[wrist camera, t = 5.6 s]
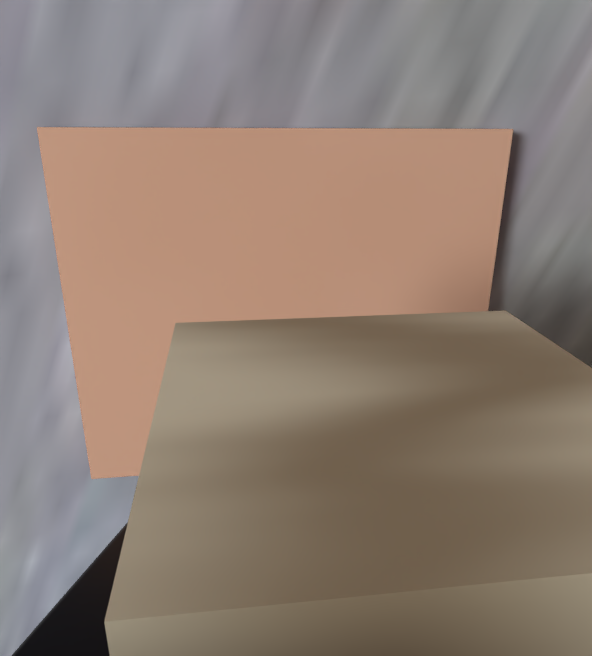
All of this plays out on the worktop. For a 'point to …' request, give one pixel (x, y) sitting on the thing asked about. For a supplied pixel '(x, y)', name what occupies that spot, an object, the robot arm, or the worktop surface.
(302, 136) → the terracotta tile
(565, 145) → the worktop surface
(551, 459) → the beige cube
